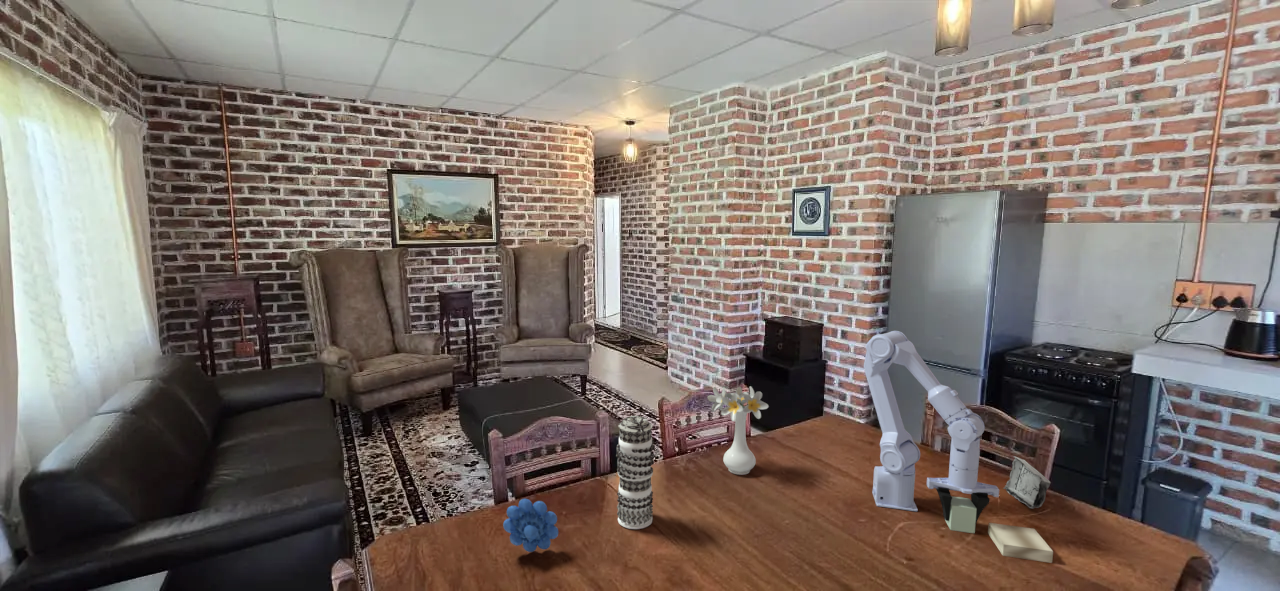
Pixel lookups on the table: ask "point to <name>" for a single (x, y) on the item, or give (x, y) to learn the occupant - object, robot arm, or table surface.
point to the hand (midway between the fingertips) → (959, 520)
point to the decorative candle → (635, 473)
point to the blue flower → (531, 525)
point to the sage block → (962, 515)
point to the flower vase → (738, 425)
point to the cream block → (1020, 542)
